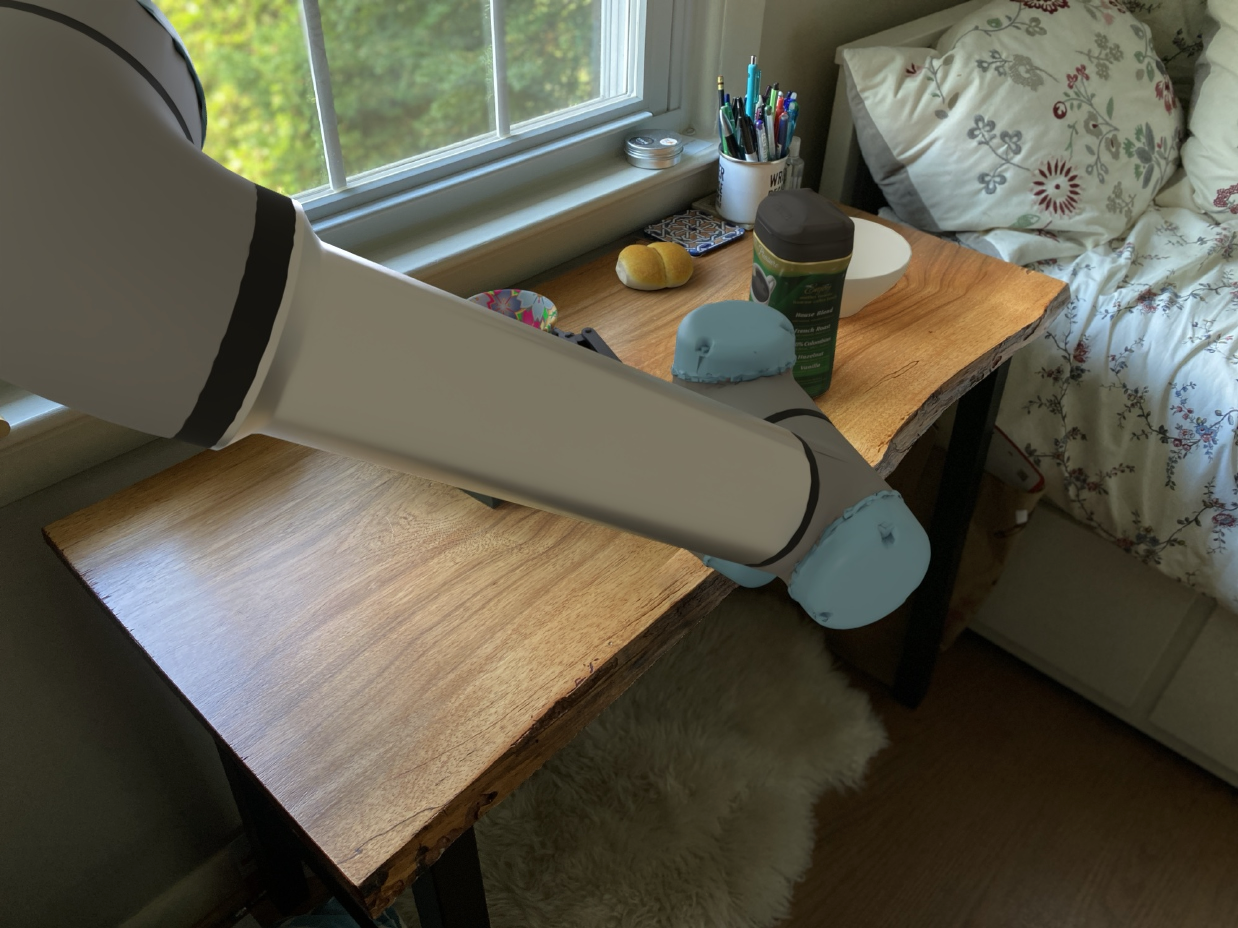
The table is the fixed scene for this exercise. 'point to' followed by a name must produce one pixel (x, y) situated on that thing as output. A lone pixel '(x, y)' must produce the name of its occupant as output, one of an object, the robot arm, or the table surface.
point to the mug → (520, 307)
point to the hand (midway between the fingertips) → (463, 342)
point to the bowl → (873, 265)
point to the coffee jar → (803, 275)
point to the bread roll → (654, 266)
